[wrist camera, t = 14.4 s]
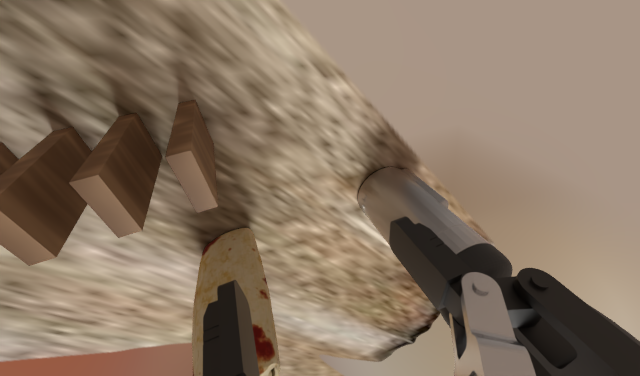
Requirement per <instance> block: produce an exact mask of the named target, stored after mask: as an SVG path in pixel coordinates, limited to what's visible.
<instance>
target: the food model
mask: <svg viewBox="0 0 640 376" xmlns="http://www.w3.org/2000/svg"><path fill="white" fill-rule="evenodd" d="M233 280H236V281H237V282H238V284H239V286H240V287H241V289H242V291H243V293H244V294H245V296H246V298H247V301H248V304H249V308H250V313H251V320H252V327H253V334H254V340H255V347H256V354H257V361H258V368H259V374H260V376H279V372H280V361H279V352H278V345H277V339H276V332H275V326H274V320H273V314H272V308H271V300H270V294H269V289H268V286H267V282H266V278H265V274H264V270H263V265H262V261H261V258H260V255H259V252H258V248H257V245H256V241H255V237H254V234H253V232H252V230H250V229H249V228H240V229H236V230H233V231H230V232H227V233H225V234H223V235H221V236H219V237H217V238H216V239H215V240H213V241H212V242H211V243H210V244H208V245H207V246H206V247H205V249H204V251H203V254H202V258H201V262H200V267H199V273H198V280H197V286H196V292H195V299H194V309H193V332H192V353H193V376H203V333H204V332H203V317H204V314H205V311H206V309H207V306H208V304H209V303H212V302H214V301H217V300H218V297H217V288H218V286H220V285H222V284H225V283H227V282H230V281H233Z"/></svg>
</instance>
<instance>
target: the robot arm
mask: <svg viewBox="0 0 640 376" xmlns="http://www.w3.org/2000/svg"><path fill="white" fill-rule="evenodd" d="M358 204H359V206H360V208H361V209H362V210H363V212H364V213H365V215H366V216H367V217H368V218H369V219H370V221H371V222H372V223H373V225H374V226H375V227H376V228H377V230H378V231H379V232H380V234H381V235H382V236H383V237H384V239H385V240H386V241H387V242H388V244H389V245H390V247H391V249H392V251H393V253H394V254H395V255H396V257H397V258H398V259H399V261H400V262H401V263H402V265H403V266H404V267H405V268H406V270H407V271H408V272H409V274H410V275H411V276H412V278H413V279H414V280H415V282H416V283H417V284H418V285H419V287H420V288H421V289H422V291H423V292H424V293H425V295H426V296H427V297H428V299H429V300H430V301H431V302H432V304H433V305H434V306H435V308H436V309H437V310H439V311H440V313H441V314H442V316H443V318H444V320H445V321H446V322H447V324H448V325H449V326H450V328H451V334H452V342H453V350H454V358H455V369H454V376H640V341H638V340H637V339H635V337H633V336H632V335H631V334H629V333H628V332H627V331H625V330H624V329H622V328H621V327H620V326H619V325H617V324H616V323H615V322H613V321H612V320H611V319H609V318H608V317H606V316H604V315H603V314H602V313H600V312H599V311H597V310H596V309H594V308H592V307H591V306H589V305H588V304H586V303H585V302H584V301H582V300H581V299H580V298H579V297H577V296H576V295H575V294H574V293H572V292H571V291H570V290H569V289H567V288H566V287H565V286H564V285H562V284H561V283H560V282H559V281H557V280H556V279H555V278H554V277H552V276H551V275H549V274H548V273H546V272H544V271H541V270H539V269H535V268H525V269H522V270H521V271H520V272H519V273H518V275H517V276H516V277H511V275H512V265H511V263H510V261H509V260H508V259H507V258H506V257H505V256H504V255H503V254H502V253H501V252H500V251H498V250H497V249H496V248H495V247H494V246H492V245H491V244H490V243H489V242H488V241H486V240H485V239H484V238H483V237H481V236H480V235H479V234H478V233H477V232H475V231H474V230H473V229H472V228H471V227H469V226H468V225H467V224H466V223H464V222H463V221H462V220H461V219H460V218H458V217H457V216H456V215H455V214H454V213H452V212H451V211H450V210H449V209H448V201H447V200H446V199H445V198H443V197H442V196H441V195H440V194H438V193H437V192H436V191H435V190H433V189H432V188H431V187H430V186H428V185H427V184H426V183H425V182H423V181H422V180H421V179H420V178H418V177H417V176H416V175H415V174H413V173H412V172H411V171H410V170H408V169H407V168H405V169H399V168H396V167H386V168H383V169H380V170H378V171H376V172H375V173H373V174H372V175H370V176H369V177H368V178H367V179H366V180H365V182H364V183H363V184H362V186H361V188H360V190H359V193H358ZM217 297H218V300H217V301H214V302H212V303H209V304H208V306H207V309H206V311H205V314H204V317H203V332H204V333H203V376H260V374H259V368H258V361H257V354H256V347H255V340H254V334H253V327H252V320H251V313H250V308H249V304H248V301H247V298H246V296H245V294H244V293H243V291H242V289H241V287H240V286H239V284H238V282H237V281H236V280H233V281H230V282H227V283H225V284H222V285H220V286H218V288H217Z"/></svg>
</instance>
